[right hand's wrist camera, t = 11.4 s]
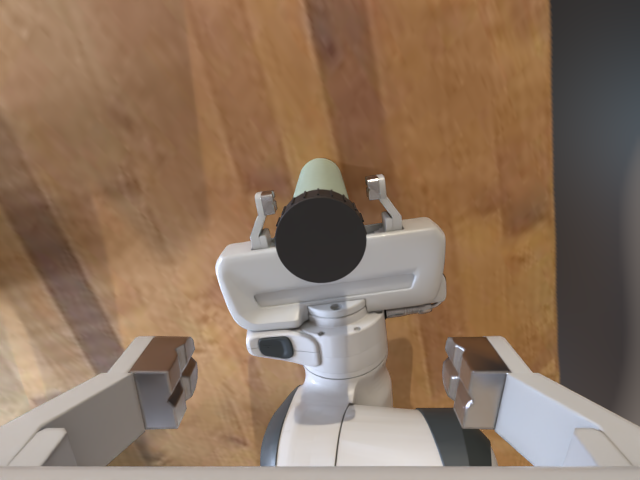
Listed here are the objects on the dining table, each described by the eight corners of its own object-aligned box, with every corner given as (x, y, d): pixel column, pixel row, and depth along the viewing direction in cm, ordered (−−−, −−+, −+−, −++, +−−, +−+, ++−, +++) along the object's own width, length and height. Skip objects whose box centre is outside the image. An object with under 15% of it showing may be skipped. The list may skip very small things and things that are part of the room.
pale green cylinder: (294, 192, 37) (273, 261, 20) (306, 152, 36) (295, 191, 19) (333, 205, 37) (344, 283, 21) (347, 165, 36) (370, 215, 20)
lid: (267, 255, 22) (262, 269, 20) (291, 175, 20) (288, 182, 18) (346, 279, 23) (348, 295, 21) (376, 203, 21) (381, 213, 19)
